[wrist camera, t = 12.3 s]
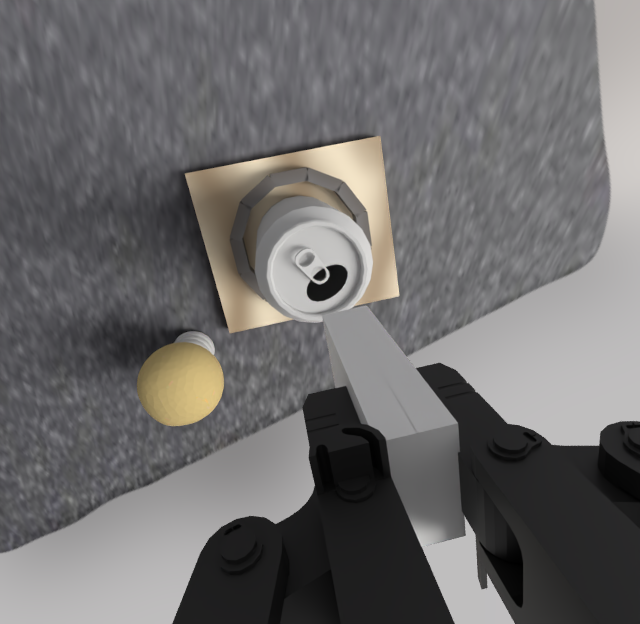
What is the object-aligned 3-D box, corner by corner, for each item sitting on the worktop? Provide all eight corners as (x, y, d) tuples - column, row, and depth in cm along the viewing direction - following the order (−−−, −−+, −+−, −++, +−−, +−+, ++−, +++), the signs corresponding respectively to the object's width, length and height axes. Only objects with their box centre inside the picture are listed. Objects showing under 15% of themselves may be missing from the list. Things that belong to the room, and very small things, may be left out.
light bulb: (178, 386, 40) (153, 454, 31) (146, 329, 38) (109, 384, 28) (240, 362, 40) (234, 423, 31) (212, 304, 38) (196, 350, 28)
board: (230, 328, 39) (228, 339, 36) (187, 173, 34) (181, 174, 31) (395, 292, 40) (404, 301, 37) (376, 136, 35) (385, 134, 32)
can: (294, 298, 37) (309, 355, 26) (237, 234, 35) (226, 266, 23) (359, 245, 36) (404, 280, 25) (306, 175, 34) (328, 180, 23)
